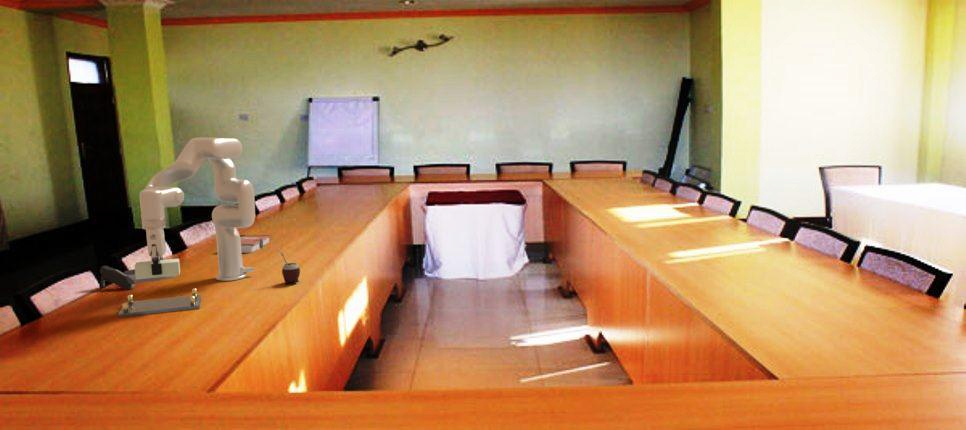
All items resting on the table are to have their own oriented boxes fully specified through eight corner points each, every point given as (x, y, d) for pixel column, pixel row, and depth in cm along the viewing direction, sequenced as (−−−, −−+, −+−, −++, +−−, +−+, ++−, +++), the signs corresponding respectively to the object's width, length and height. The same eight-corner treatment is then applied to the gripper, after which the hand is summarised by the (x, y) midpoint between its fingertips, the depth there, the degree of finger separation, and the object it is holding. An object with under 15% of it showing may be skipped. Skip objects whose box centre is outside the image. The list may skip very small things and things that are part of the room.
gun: (126, 303, 257) (133, 282, 255) (93, 283, 259) (100, 263, 256) (131, 301, 260) (138, 280, 257) (99, 282, 261) (106, 261, 259)
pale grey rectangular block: (180, 271, 236) (179, 258, 235) (179, 275, 230) (178, 261, 229) (137, 275, 230) (136, 262, 230) (135, 279, 225) (134, 265, 224)
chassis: (201, 297, 244) (200, 286, 243) (199, 308, 230) (198, 297, 229) (125, 305, 235) (124, 294, 234) (118, 317, 221) (116, 305, 220)
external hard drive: (176, 278, 274) (175, 269, 274) (125, 285, 264) (124, 276, 263) (171, 272, 285) (170, 263, 284) (122, 279, 274) (121, 270, 274)
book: (253, 254, 321) (252, 244, 320) (219, 254, 321) (218, 244, 320) (271, 243, 346) (270, 234, 346) (239, 243, 347) (239, 234, 346)
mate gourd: (303, 282, 263) (301, 247, 261) (286, 286, 258) (284, 250, 255) (294, 279, 268) (292, 245, 266) (277, 283, 263) (274, 248, 260)
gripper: (162, 226, 221) (167, 277, 223) (167, 219, 237) (172, 266, 239) (138, 228, 218) (143, 279, 221) (145, 220, 234) (149, 268, 237)
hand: (158, 272), depth 230 cm, fingers closed on pale grey rectangular block, 6 cm apart
